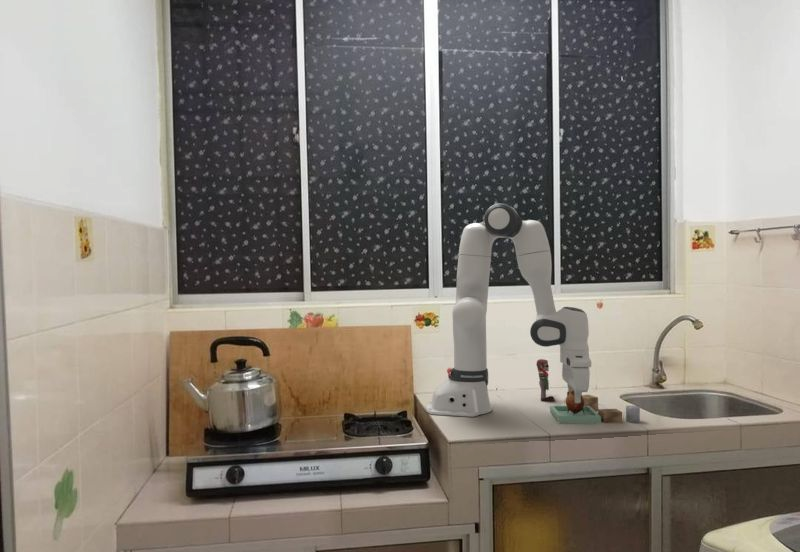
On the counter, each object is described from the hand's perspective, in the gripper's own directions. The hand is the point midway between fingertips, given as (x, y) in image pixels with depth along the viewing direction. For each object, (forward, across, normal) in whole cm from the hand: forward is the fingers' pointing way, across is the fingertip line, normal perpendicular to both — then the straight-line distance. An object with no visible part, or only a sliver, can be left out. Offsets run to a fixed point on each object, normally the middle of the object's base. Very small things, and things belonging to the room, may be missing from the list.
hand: (574, 399), depth 176 cm
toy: (+6, -22, -5) cm, 23 cm away
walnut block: (+6, +4, +10) cm, 12 cm away
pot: (+5, 0, 0) cm, 5 cm away
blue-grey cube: (+6, +4, +17) cm, 18 cm away
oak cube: (+6, -10, +7) cm, 14 cm away
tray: (+6, 0, 0) cm, 6 cm away
